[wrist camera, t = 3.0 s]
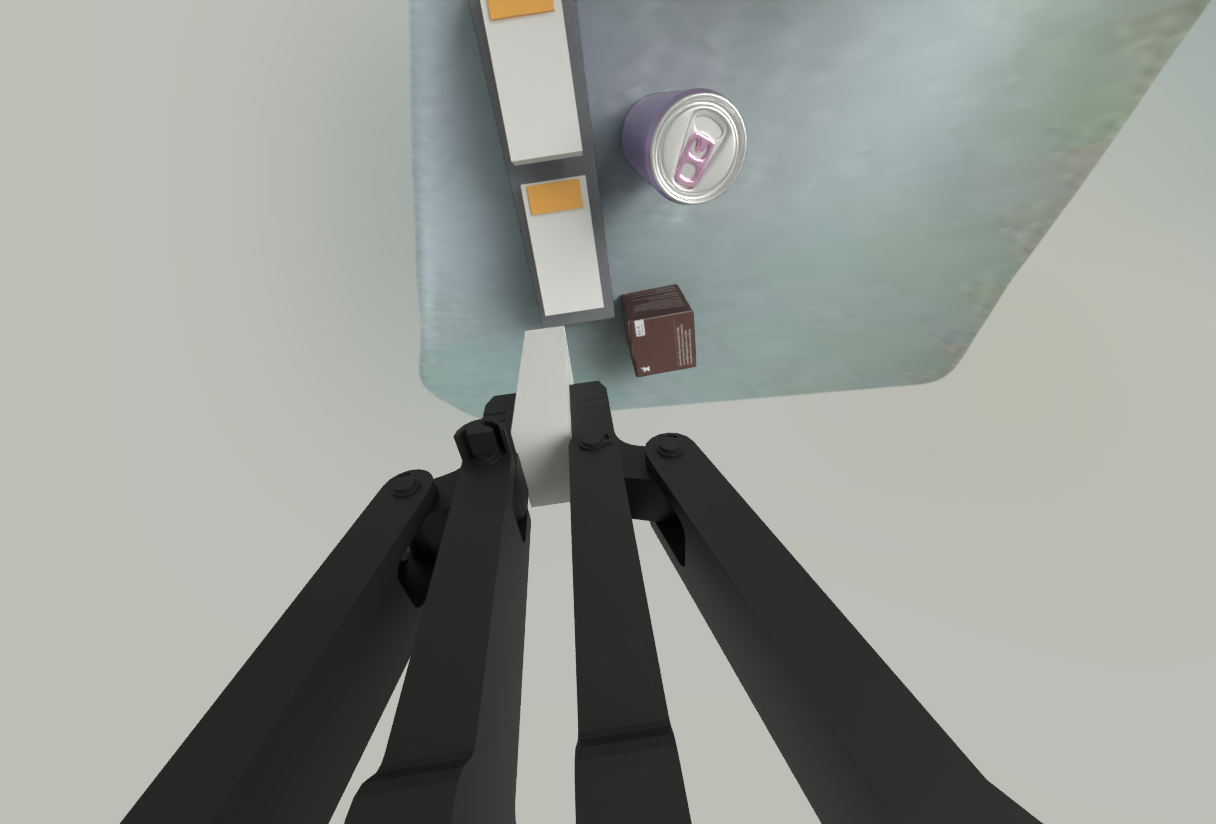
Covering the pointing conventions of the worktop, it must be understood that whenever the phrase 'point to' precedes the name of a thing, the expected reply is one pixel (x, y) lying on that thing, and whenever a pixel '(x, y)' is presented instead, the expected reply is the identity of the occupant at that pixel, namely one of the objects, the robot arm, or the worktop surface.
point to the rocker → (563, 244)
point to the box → (659, 330)
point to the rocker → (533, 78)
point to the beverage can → (686, 143)
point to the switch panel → (555, 165)
